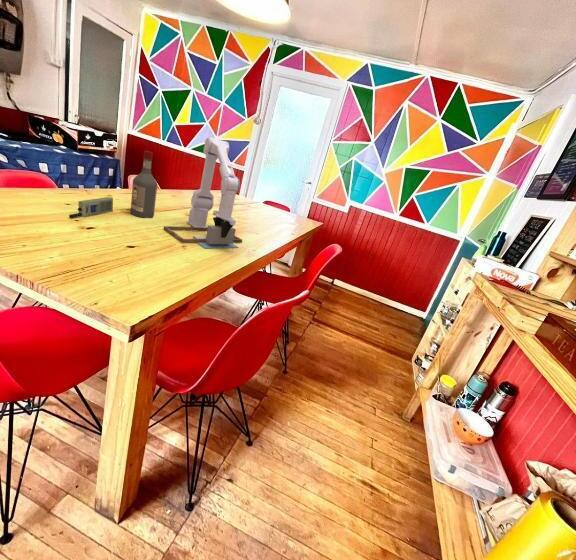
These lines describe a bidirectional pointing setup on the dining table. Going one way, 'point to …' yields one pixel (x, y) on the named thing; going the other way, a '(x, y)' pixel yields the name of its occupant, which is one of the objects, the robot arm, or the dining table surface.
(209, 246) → the blue mat
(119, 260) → the dining table surface
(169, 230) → the dark rectangular frame
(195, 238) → the offcut stack
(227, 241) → the grey rectangular block
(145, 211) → the liquor
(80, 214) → the handheld radio
